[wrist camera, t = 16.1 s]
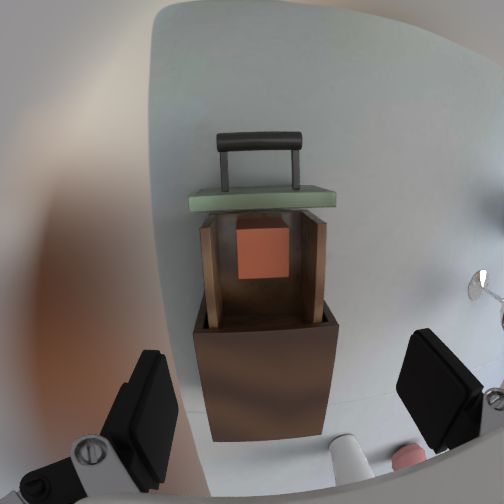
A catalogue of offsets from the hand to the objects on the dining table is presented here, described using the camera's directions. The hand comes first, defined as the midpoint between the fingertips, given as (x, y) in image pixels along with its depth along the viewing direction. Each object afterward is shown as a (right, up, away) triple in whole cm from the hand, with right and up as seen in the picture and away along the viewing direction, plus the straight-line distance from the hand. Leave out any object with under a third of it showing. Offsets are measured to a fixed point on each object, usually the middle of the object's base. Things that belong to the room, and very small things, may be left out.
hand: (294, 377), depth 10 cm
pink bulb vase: (+31, -38, +36) cm, 61 cm away
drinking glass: (+15, -30, +33) cm, 47 cm away
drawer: (-1, +7, +21) cm, 22 cm away
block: (-1, +6, +20) cm, 21 cm away
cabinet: (0, -7, +26) cm, 26 cm away
